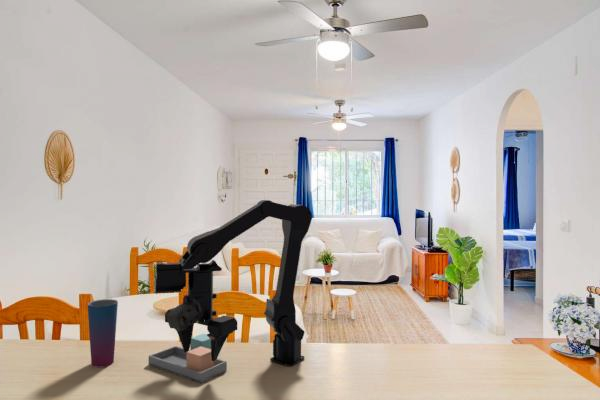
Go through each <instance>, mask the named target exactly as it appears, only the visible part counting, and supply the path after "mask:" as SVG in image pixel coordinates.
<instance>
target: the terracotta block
mask: <svg viewBox="0 0 600 400" xmlns="http://www.w3.org/2000/svg"><path fill="white" fill-rule="evenodd" d="M189 350H190V349H189ZM213 366H214V361H212V357H211V349H208V348H205V347H201V346H200V347H198V348H195V349H193V350H190V351H188V352H187V368H190V369H193V370H196V371H199V372H202V371H204V370H206V369H209V368H211V367H213Z"/></svg>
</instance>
